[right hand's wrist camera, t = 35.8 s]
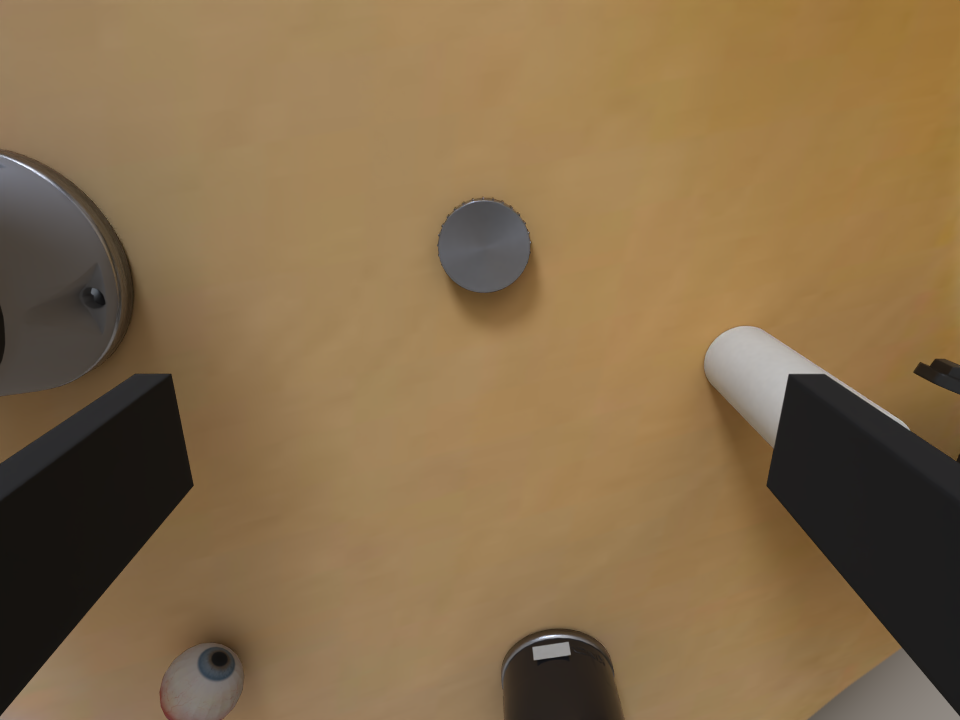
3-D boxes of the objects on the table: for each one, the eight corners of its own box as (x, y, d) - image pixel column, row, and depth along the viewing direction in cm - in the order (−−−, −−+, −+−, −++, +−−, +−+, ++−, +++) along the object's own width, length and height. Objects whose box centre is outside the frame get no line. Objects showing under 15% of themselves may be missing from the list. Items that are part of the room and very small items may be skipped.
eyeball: (268, 643, 48) (240, 709, 43) (236, 690, 50) (206, 759, 45) (201, 612, 47) (163, 676, 42) (171, 661, 49) (131, 728, 43)
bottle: (759, 400, 41) (904, 533, 27) (693, 384, 40) (805, 511, 26) (788, 334, 39) (960, 440, 25) (719, 318, 39) (855, 416, 25)
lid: (436, 198, 36) (434, 200, 34) (529, 195, 36) (531, 197, 34) (441, 289, 38) (439, 295, 36) (529, 286, 38) (531, 292, 36)
